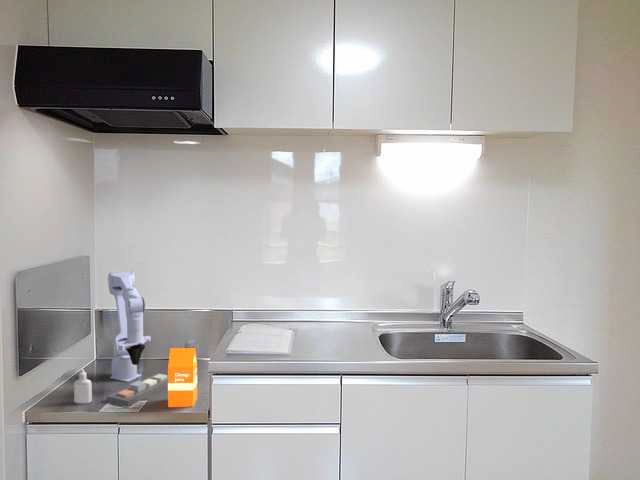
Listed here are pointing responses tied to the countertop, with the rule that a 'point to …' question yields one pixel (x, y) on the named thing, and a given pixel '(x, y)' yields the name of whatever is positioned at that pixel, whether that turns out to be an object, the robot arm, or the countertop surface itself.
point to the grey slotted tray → (138, 393)
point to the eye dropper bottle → (82, 389)
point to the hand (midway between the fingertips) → (135, 364)
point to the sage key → (160, 377)
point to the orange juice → (182, 377)
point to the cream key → (150, 382)
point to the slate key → (137, 386)
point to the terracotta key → (125, 393)
